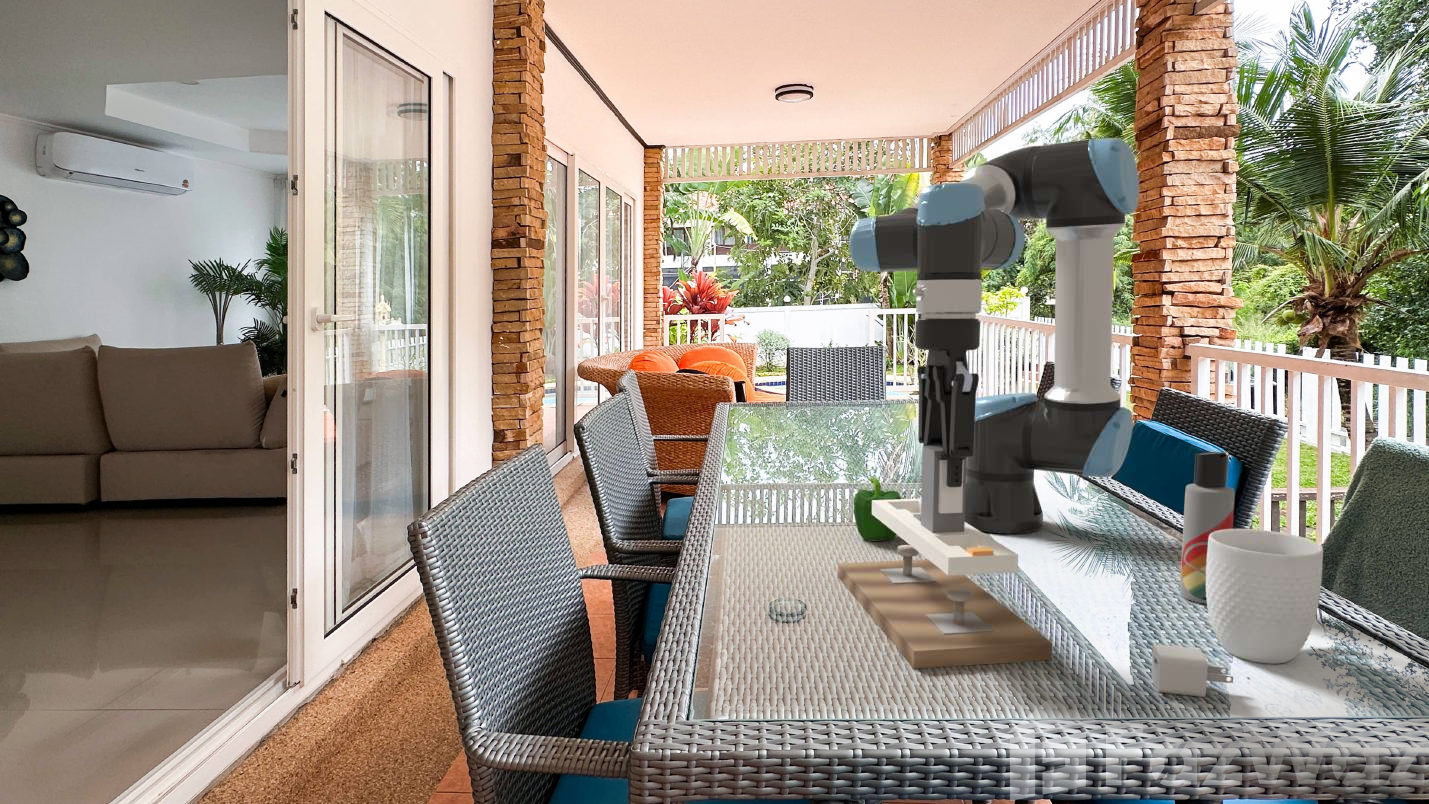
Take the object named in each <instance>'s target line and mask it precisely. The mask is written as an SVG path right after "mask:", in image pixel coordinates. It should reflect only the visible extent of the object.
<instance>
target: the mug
mask: <svg viewBox="0 0 1429 804" xmlns="http://www.w3.org/2000/svg"><path fill="white" fill-rule="evenodd" d="M1323 558H1324V548H1323V547H1322V545H1320V544H1319V543H1318V542H1316V541H1314V540H1312V539H1309V538H1307V537H1306V538H1305V537H1303V536H1299V535H1296V534H1290V533H1285V532H1278V531H1273V530H1264V529H1256V528H1255V529H1253V528H1252V529H1251V528H1233V529H1225V530H1218V531H1215V532H1212V533H1211V534H1210V535H1209V538H1208V550H1207V560H1206V562H1207V564H1206V598H1207V604H1206V605H1207V607H1206V608H1207V612H1208V616H1209V620H1210V622H1211V623H1210V624H1211V627H1212V629H1213V632H1214V634H1215V636H1216V638H1217V639H1218V641H1219V643H1220V644H1221V646H1222V647H1223V649H1224V650H1225V651H1226V652H1227V653H1229V654H1230V655H1232V656H1235V657H1237V658H1240V659H1243V660H1245V661H1249V662H1254V663H1259V664H1267V665H1268V664H1271V665H1274V664H1275V665H1278V664H1284V663H1288V662H1290V661H1291V660H1293V659H1294V658H1295V657H1297V654H1299V652H1300V651H1301V650H1302V649H1303V647H1304V646H1305V644H1306V642H1307V641H1308V639H1309V636H1310V634H1311V632H1312V629H1313V626H1314V624H1315V620H1316V618H1317V614H1318V608H1319V602H1320V595H1321V589H1322V588H1321V586H1322V577H1323V570H1324V568H1323Z"/></svg>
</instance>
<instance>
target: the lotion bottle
mask: <svg viewBox="0 0 1429 804" xmlns="http://www.w3.org/2000/svg"><path fill="white" fill-rule="evenodd" d="M1194 458H1195V459H1194V474H1193V476H1194V477H1193V483H1190V484H1187V485H1186V486H1185V491H1184V492H1185V493H1184V507H1183V509H1184V510H1183V524H1182V525H1183V527H1182V528H1183V529H1182V543H1181V544H1182V545H1181V560H1180V576H1179V577H1180V578H1179V579H1180V581H1179V593H1180V594H1181V595H1180V596H1181V597H1182V598H1183V597H1184V598H1183V599H1185V600H1187V599H1188V600H1187V601H1190V600H1191V601H1190V602H1193V601H1195V602H1194V603H1197V602H1198V604H1202V603H1205V604H1204V605H1207V598H1206V564H1207V562H1206V560H1207V550H1208V538H1209V535H1210V534H1211V533H1212V532H1215V531H1218V530H1225V529H1234V528H1233V527H1234V512H1235V495H1236V494H1235V493H1236V492H1235V491H1236V490H1235V489H1234V488H1232V487H1229V486H1227V485H1228V474H1229V473H1228V472H1229V460H1230V459H1229V455H1228V454H1227V453H1226V452H1225V451H1209V452H1201V453H1196V454H1195V457H1194Z"/></svg>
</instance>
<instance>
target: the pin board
mask: <svg viewBox="0 0 1429 804" xmlns="http://www.w3.org/2000/svg"><path fill="white" fill-rule="evenodd" d="M896 551H897V552H896V553H897V554H898V555H899V556H901V557H902V558H903V559H901V560H882V561H881V560H880V561H864V562H863V561H861V562H839V563H837V577H838V578H839V580H840V581H841V582H842V584H844V586H845V587H846V588H847V590H848V591H849V592H850V593H851V594H852V596H853V597H854V598H855V599H856V601H858V603H859V604H860V605H861V606H862V608H863V609H864V610H865V611H866V613H867V614H868V613H869V614H868V615H869V617H871V618H873V619H874V620H875V621H874V620H873V619H872V620H873V621H874V622H875V624H876V625H877V624H878V625H879V626H880V627H879V626H878V625H877V626H878V627H879V629H880V630H881V629H882V630H883V631H884V632H885V633H884V632H883V631H882V630H881V631H882V632H883V633H884V634H885V636H886V635H887V636H888V637H889V638H890V639H889V638H888V637H887V636H886V637H887V638H888V639H889V640H890V642H891V641H892V642H893V643H894V644H895V645H896V646H895V645H894V644H893V643H892V642H891V643H892V644H893V645H894V646H895V648H896V647H897V648H898V649H897V648H896V649H897V650H898V651H899V653H900V652H901V653H900V654H901V655H902V656H903V658H904V659H905V658H906V659H905V660H906V661H907V662H908V663H909V665H910V666H911V667H912V668H913V669H928V668H929V669H930V668H940V667H941V668H942V667H945V668H946V667H960V666H961V667H962V666H975V665H976V666H977V665H978V666H979V665H992V664H1005V663H1006V664H1007V663H1008V664H1010V663H1022V662H1023V663H1024V662H1025V663H1026V662H1037V661H1040V662H1041V661H1052V659H1053V657H1052V655H1053V642H1052V641H1051V640H1049V639H1048V638H1046V636H1044V635H1043V634H1041V633H1040V632H1039V631H1038V630H1036V629H1035V628H1034V627H1033V626H1031V625H1030V624H1029V623H1027V622H1026V621H1025V620H1023V619H1022V618H1021V617H1020V616H1018V615H1017V614H1016V613H1014V612H1013V611H1012V610H1011V609H1009V608H1008V607H1007V606H1005V605H1004V603H1002V602H1000V601H999V600H998V599H997V598H995V597H994V596H993V595H991V594H990V593H989V592H987V591H986V590H985V589H983V588H982V587H981V586H980V585H978V584H977V583H976V582H975V581H974V580H972V579H971V578H970V577H968V575H947V574H946V573H945V572H943V571H942V570H941V569H940V568H938V567H937V566H936V565H935V564H933V563H932V562H931V561H930V560H928V559H927V558H925V559H924V558H923V559H913V557H916V556H918V555H919V552H918V551H917V550H916V549H915V548H913V547H912V546H911V545H910V544H901V545H898V546H897V550H896Z"/></svg>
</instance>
